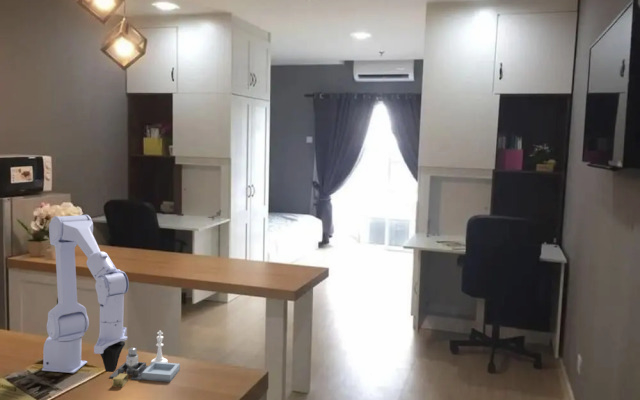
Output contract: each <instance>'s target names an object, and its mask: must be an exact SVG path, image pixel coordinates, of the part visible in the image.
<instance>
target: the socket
mask: <svg viewBox="0 0 640 400" xmlns="http://www.w3.org/2000/svg"><path fill="white" fill-rule="evenodd" d="M148 366H149V365H147V362H143V361H138V369H137V370H136V369H134V370H133V375H131V377H130V380H131V381H132V380H133V381H143V380H142V372H143V371H144V370H145V369H146V368H147V367H148ZM120 373H124V374H125V373H126V361H125V362H124V363H123V364H122V365H120V366H119V367H118V368H116V370H115V371H114V372H112V374H110V375H109V378H111V379H113V378H114V377H117V376H118V375H119V374H120Z"/></svg>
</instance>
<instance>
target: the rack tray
mask: <svg viewBox="0 0 640 400" xmlns="http://www.w3.org/2000/svg"><path fill="white" fill-rule="evenodd" d="M180 365H181V364H180V363H175V362H168V363H165V362H152V363H151V362H150V363H149V365H147V366H148V367H147V368H146V369H145V370H144V371H143V372H142V380H141V381H154V382H168V383H171V382H172V380H173V379H174V378H175V377H176V375H178V373H179V372H180V369H181V368H180Z"/></svg>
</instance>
